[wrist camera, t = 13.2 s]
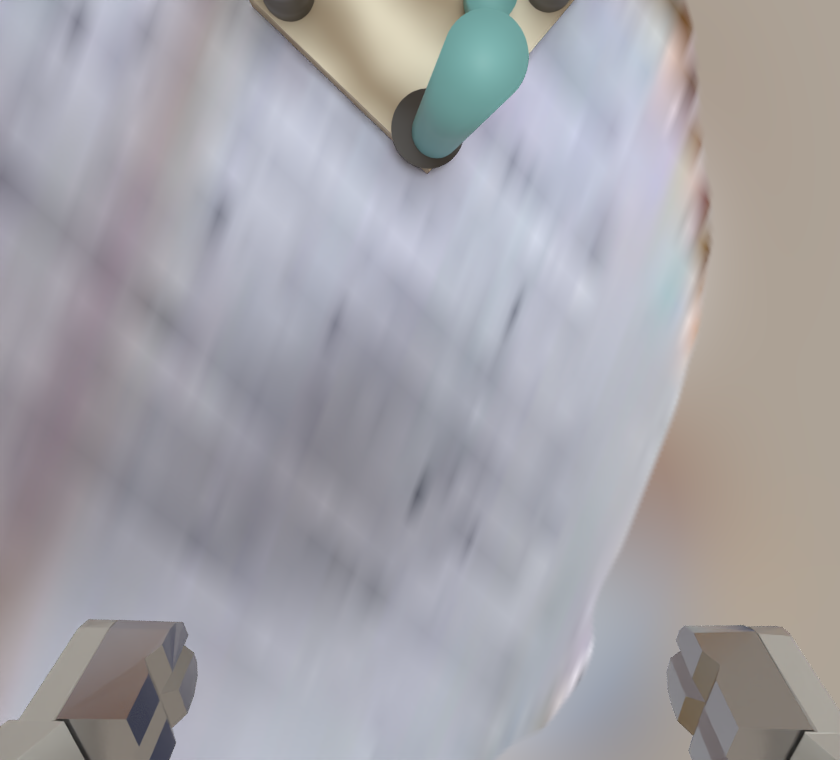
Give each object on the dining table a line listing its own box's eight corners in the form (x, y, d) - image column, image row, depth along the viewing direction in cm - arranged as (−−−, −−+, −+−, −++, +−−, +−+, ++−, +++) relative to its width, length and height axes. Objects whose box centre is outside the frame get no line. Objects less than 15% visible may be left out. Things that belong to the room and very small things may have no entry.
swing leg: (473, -36, 34) (561, -262, 18) (521, -11, 34) (644, -210, 19) (404, 145, 36) (428, 82, 20) (449, 166, 36) (506, 120, 21)
